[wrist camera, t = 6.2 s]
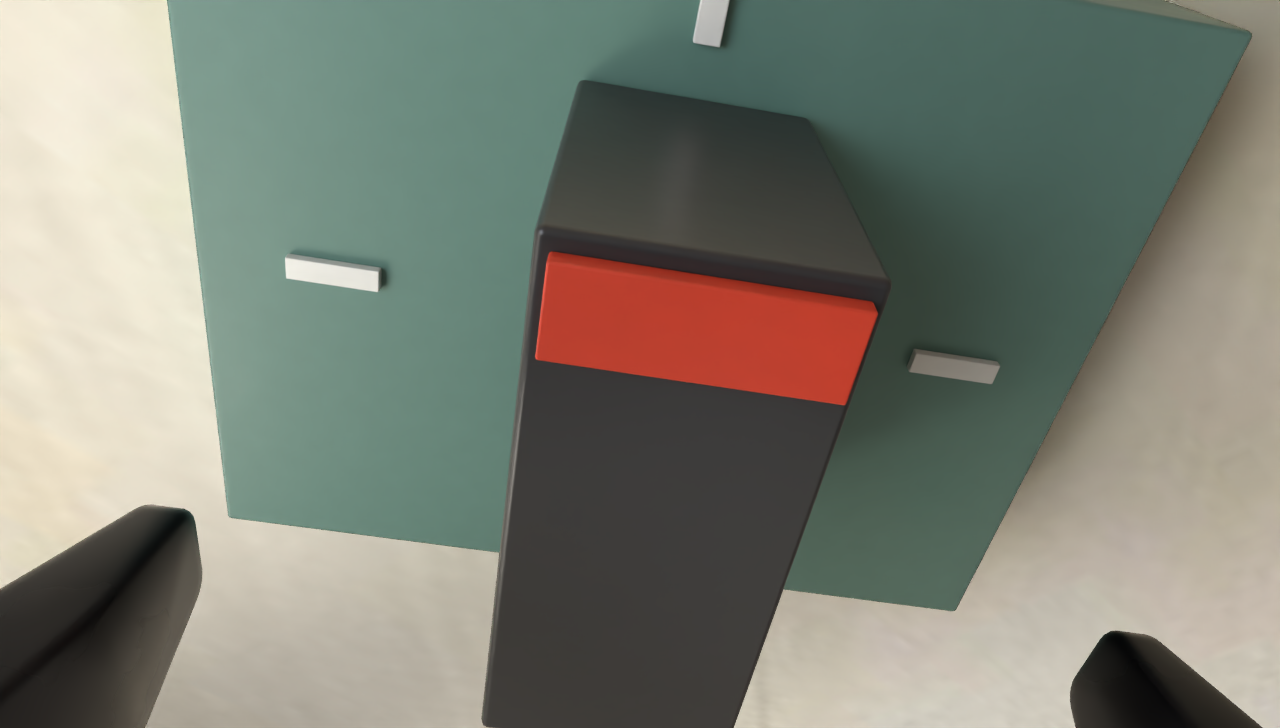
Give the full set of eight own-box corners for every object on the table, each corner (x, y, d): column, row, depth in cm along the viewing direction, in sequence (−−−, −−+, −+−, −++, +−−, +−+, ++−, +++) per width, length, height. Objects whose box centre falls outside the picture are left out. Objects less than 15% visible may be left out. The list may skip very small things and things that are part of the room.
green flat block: (277, 440, 18) (223, 529, 16) (231, -184, 12) (134, -184, 10) (921, 528, 19) (956, 623, 17) (1165, -9, 13) (1268, 27, 11)
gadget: (706, 502, 16) (726, 774, 11) (528, 477, 15) (476, 746, 11) (810, 117, 12) (903, 294, 7) (578, 76, 12) (531, 236, 7)
